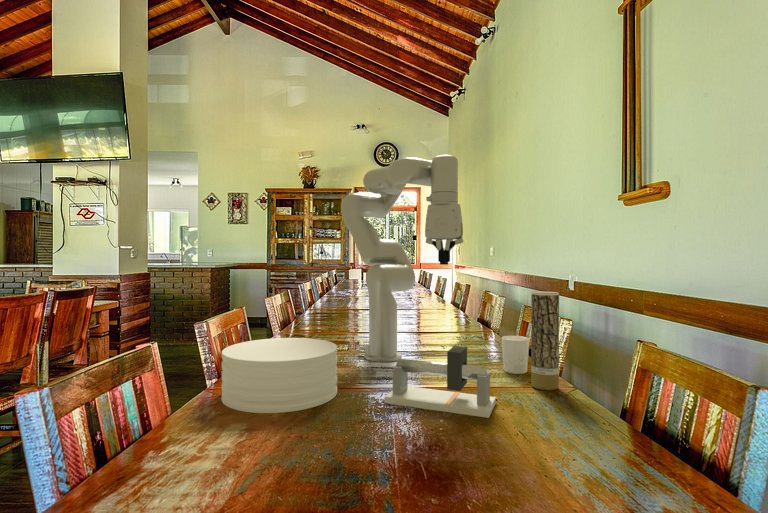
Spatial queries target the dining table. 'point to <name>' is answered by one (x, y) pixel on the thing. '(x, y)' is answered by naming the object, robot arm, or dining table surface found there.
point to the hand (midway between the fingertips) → (444, 264)
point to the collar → (456, 367)
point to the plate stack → (279, 374)
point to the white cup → (515, 354)
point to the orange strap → (452, 398)
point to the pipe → (438, 368)
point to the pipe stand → (441, 396)
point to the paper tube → (545, 340)
